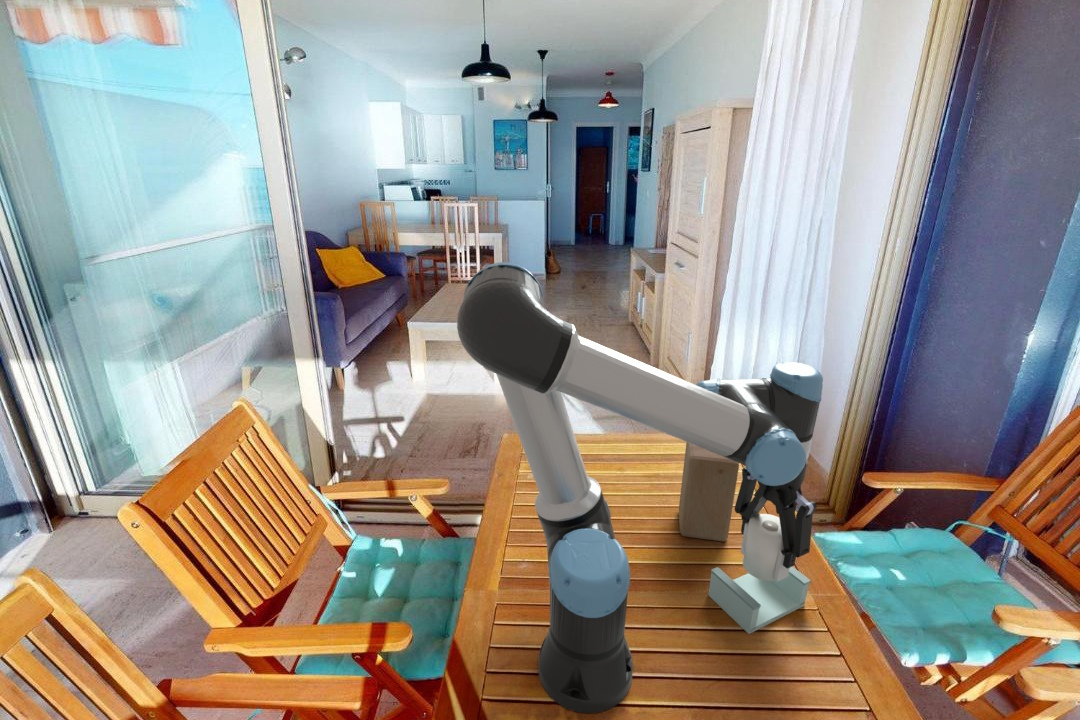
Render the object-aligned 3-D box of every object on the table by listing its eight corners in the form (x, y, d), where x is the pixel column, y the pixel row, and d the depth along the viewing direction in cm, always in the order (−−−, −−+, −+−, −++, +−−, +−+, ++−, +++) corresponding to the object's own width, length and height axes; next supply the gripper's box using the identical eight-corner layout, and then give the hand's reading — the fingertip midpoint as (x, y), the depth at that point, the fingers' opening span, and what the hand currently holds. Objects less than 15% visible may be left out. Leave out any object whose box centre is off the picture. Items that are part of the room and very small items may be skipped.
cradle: (749, 634, 96) (754, 608, 94) (707, 594, 105) (711, 569, 102) (804, 606, 102) (810, 580, 100) (761, 570, 111) (765, 546, 108)
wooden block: (727, 544, 118) (740, 463, 110) (679, 537, 120) (689, 457, 112) (722, 515, 127) (734, 438, 120) (678, 509, 129) (686, 433, 121)
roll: (764, 586, 96) (772, 543, 93) (734, 561, 102) (740, 519, 98) (792, 572, 99) (801, 530, 96) (761, 548, 105) (768, 508, 101)
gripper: (853, 478, 85) (825, 594, 94) (753, 423, 102) (737, 526, 110) (820, 491, 82) (794, 610, 90) (722, 433, 98) (708, 538, 107)
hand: (763, 563), depth 100 cm, fingers closed on roll, 7 cm apart
